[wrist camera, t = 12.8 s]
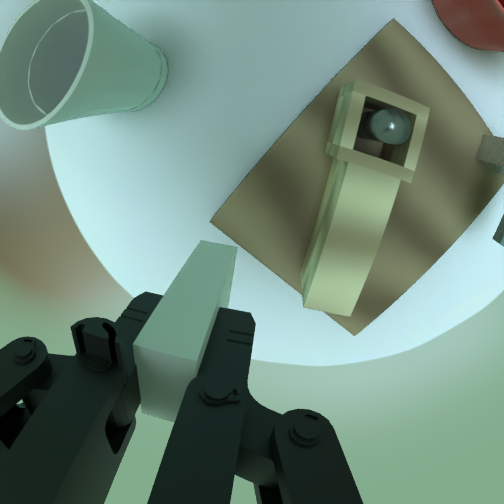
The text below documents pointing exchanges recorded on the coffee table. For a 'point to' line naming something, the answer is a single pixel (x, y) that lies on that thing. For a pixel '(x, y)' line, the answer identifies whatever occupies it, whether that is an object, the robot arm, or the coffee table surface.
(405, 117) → the pin
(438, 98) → the board
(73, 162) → the coffee table surface
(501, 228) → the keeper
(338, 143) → the link
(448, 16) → the flower pot
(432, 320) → the coffee table surface
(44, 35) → the cup
